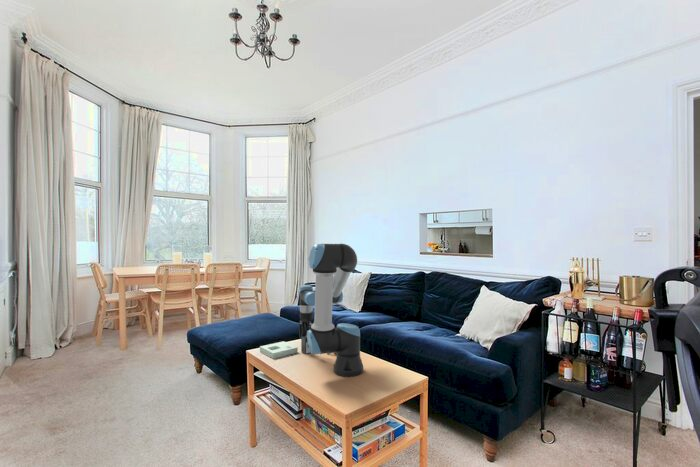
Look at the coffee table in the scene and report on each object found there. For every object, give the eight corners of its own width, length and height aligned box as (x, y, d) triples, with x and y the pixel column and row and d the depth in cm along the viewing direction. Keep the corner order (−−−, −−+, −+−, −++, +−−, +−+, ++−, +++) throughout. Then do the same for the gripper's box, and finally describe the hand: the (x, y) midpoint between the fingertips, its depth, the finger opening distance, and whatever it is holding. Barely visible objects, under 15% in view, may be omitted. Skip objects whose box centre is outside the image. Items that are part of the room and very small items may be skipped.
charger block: (310, 352, 207) (310, 336, 207) (305, 353, 204) (305, 337, 205) (307, 350, 210) (307, 335, 210) (301, 352, 207) (301, 336, 208)
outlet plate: (297, 352, 207) (297, 347, 207) (273, 358, 196) (273, 353, 197) (283, 346, 219) (283, 341, 219) (259, 351, 209) (259, 346, 209)
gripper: (320, 313, 204) (319, 353, 203) (303, 308, 217) (303, 347, 216) (309, 315, 199) (309, 356, 198) (292, 310, 212) (292, 349, 211)
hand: (306, 351), depth 207 cm, fingers closed on charger block, 4 cm apart
